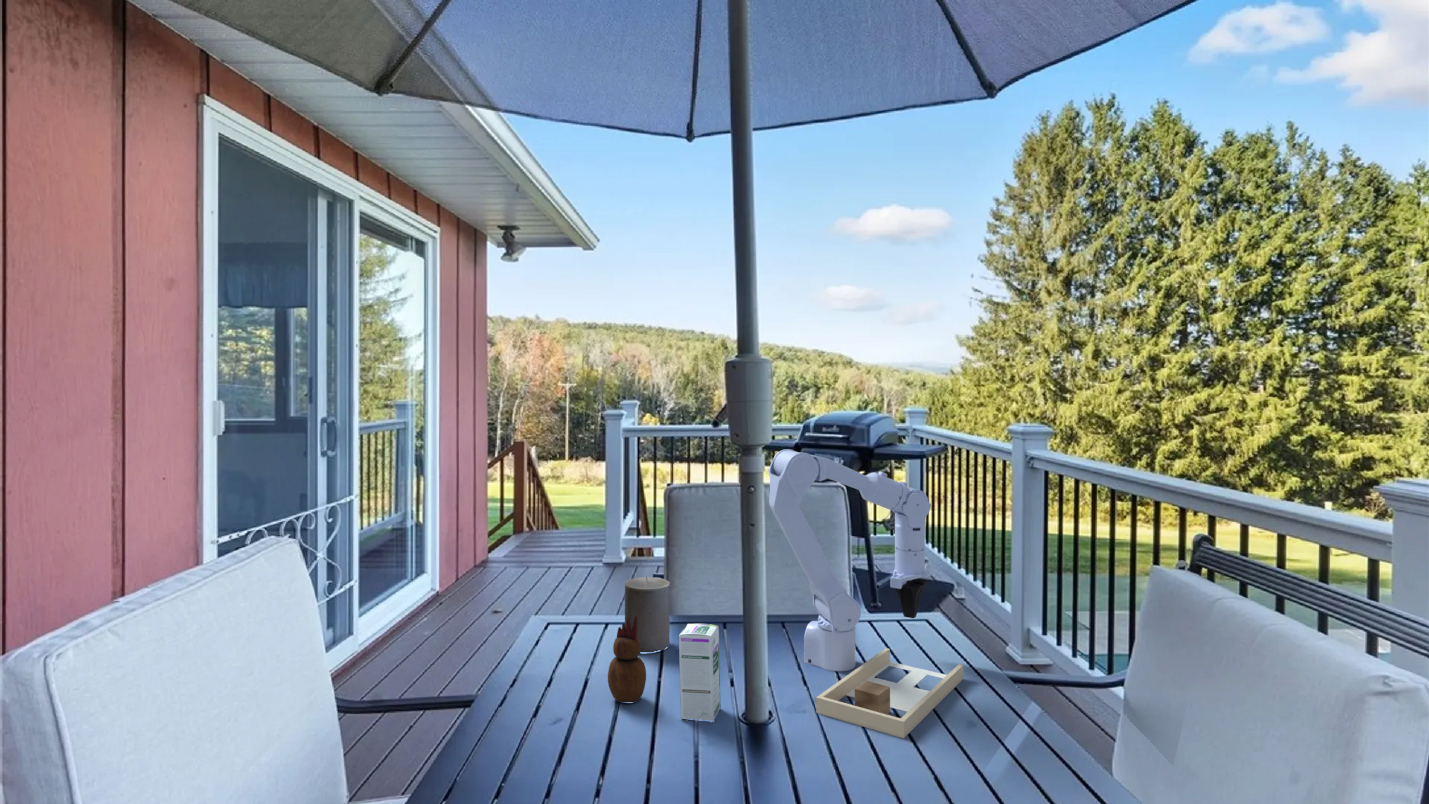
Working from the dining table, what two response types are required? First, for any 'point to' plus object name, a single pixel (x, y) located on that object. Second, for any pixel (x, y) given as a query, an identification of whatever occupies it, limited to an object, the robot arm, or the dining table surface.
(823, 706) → the board
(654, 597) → the pillar candle
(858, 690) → the walnut block
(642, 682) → the wooden figurine
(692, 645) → the syrup box
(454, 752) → the dining table surface
